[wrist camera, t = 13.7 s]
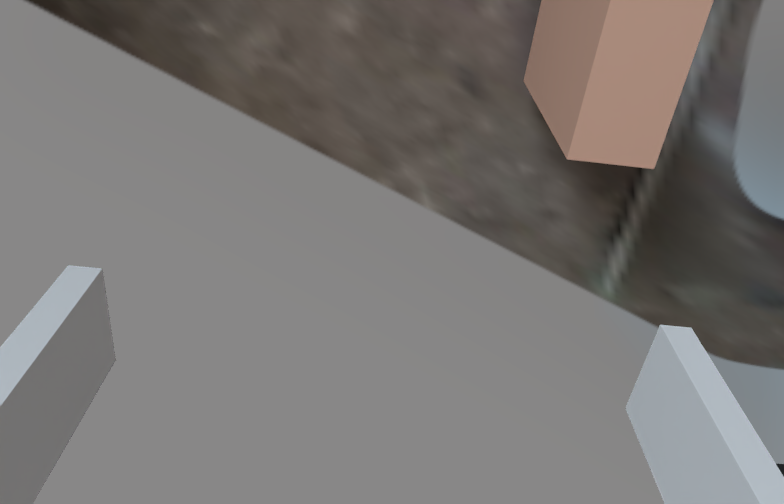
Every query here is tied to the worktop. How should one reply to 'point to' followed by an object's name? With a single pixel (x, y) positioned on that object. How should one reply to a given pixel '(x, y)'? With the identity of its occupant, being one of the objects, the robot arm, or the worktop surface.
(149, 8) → the worktop surface
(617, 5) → the pink beveled block
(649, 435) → the robot arm
